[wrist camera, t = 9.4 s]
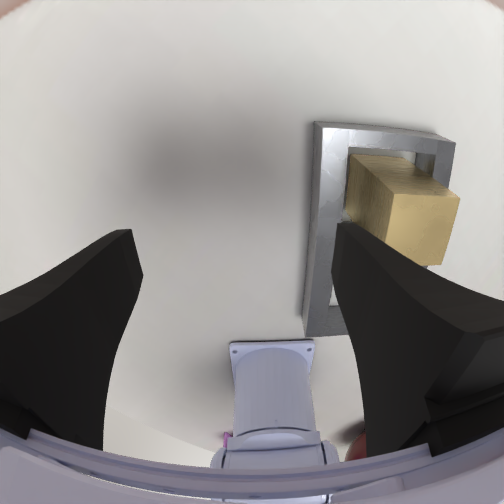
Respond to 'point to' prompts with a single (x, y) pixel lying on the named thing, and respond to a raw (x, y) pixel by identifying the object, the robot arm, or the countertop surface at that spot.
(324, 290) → the steel window frame
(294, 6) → the countertop surface
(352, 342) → the robot arm
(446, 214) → the light brown wooden block
